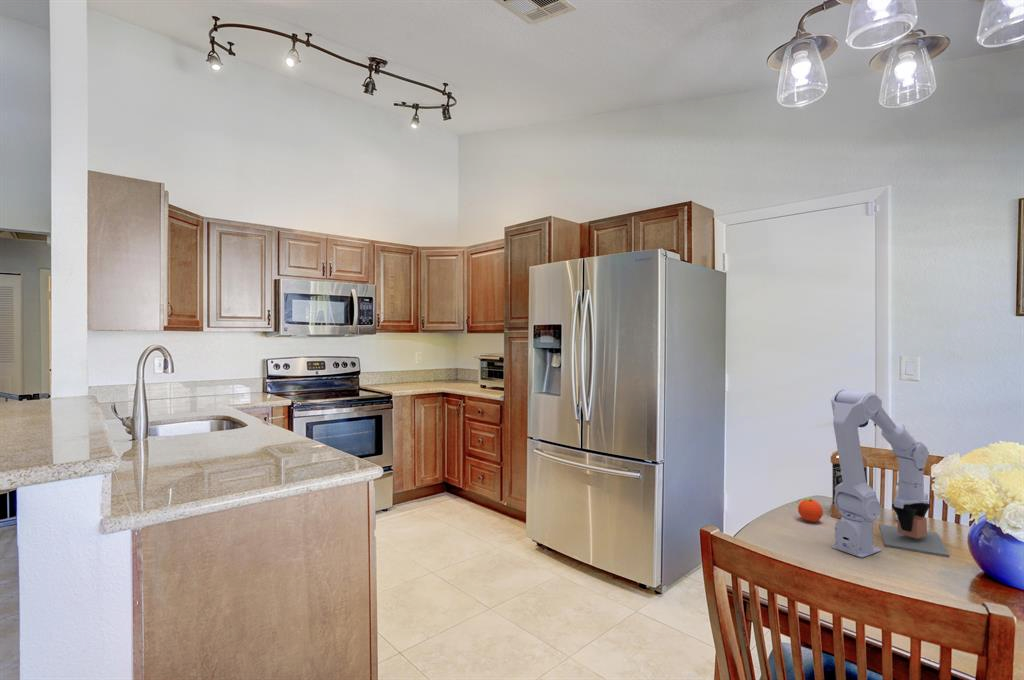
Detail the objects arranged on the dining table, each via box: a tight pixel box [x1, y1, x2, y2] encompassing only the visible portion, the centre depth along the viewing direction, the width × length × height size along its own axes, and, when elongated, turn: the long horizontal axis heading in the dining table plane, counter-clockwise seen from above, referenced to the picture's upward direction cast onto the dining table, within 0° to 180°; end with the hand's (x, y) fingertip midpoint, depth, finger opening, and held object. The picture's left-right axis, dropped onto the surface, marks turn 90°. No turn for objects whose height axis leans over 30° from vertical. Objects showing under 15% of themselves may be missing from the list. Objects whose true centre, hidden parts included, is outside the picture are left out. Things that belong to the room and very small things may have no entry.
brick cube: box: [896, 515, 928, 539], centre depth 145 cm, size 5×5×5 cm
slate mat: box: [879, 523, 950, 558], centre depth 145 cm, size 18×14×1 cm
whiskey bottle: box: [830, 450, 869, 519], centre depth 166 cm, size 10×10×32 cm
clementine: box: [796, 498, 824, 523], centre depth 162 cm, size 8×7×7 cm
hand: (911, 528), depth 145 cm, fingers closed on brick cube, 5 cm apart
